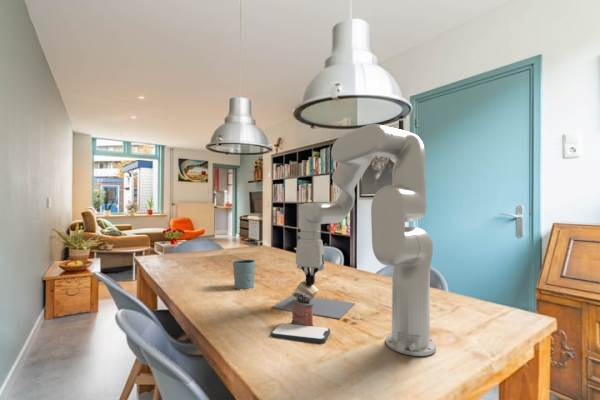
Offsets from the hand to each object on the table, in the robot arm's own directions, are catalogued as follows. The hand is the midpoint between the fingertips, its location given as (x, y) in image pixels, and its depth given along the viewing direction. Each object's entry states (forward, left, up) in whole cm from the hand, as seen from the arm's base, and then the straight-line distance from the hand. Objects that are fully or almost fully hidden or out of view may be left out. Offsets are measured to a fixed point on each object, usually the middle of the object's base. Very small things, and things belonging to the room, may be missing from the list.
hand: (310, 284), depth 116 cm
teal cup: (+10, +37, -8) cm, 39 cm away
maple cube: (0, 0, -1) cm, 1 cm away
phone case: (-25, -8, -8) cm, 28 cm away
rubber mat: (0, -2, -8) cm, 8 cm away
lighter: (-19, -6, -8) cm, 22 cm away
